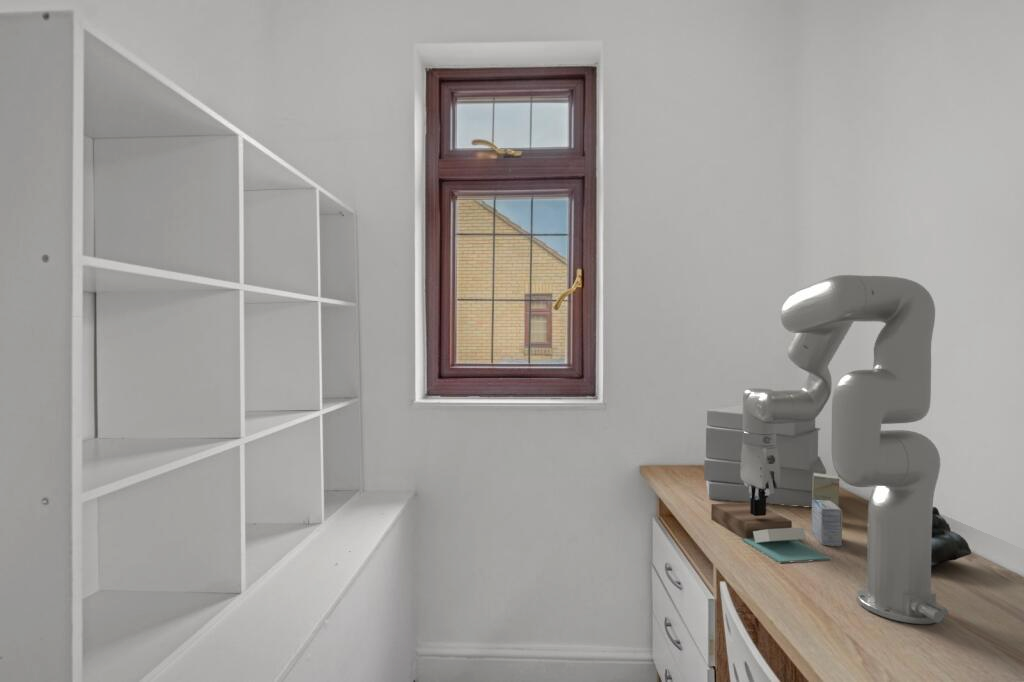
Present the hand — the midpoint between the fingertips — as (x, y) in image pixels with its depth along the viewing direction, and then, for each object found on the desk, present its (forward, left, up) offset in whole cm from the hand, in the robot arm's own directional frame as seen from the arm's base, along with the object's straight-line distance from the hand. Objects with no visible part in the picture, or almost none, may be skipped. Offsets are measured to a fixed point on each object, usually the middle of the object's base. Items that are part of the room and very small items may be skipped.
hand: (758, 514), depth 142 cm
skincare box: (+7, -24, -5) cm, 26 cm away
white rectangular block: (-8, 0, -2) cm, 9 cm away
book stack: (+33, -23, -5) cm, 41 cm away
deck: (+5, -1, -5) cm, 7 cm away
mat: (-10, 0, -5) cm, 11 cm away
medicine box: (-6, -14, -5) cm, 16 cm away
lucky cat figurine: (-21, -25, -5) cm, 33 cm away
